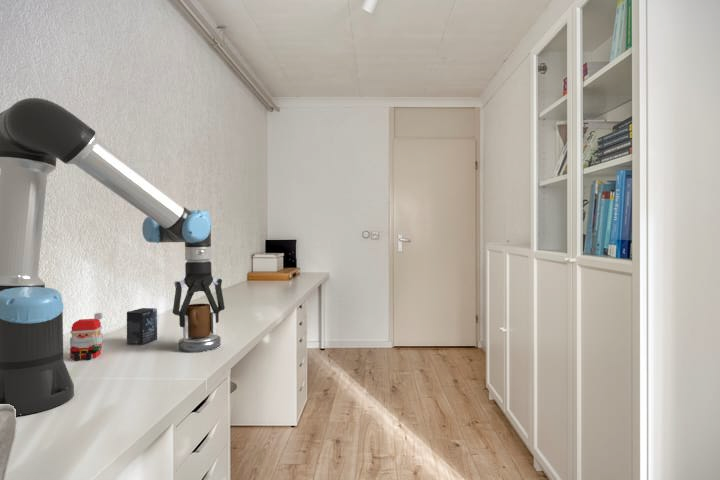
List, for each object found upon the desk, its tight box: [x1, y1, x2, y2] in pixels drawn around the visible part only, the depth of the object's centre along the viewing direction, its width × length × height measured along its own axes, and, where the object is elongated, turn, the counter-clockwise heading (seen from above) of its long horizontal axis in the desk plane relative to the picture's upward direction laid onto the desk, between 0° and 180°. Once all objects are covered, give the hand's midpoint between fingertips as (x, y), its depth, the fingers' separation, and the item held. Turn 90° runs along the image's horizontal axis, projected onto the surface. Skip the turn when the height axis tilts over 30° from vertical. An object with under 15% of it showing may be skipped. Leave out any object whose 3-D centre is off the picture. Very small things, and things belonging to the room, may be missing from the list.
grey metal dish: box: [178, 333, 221, 353], centre depth 135 cm, size 12×12×3 cm
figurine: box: [69, 312, 103, 362], centre depth 125 cm, size 8×7×12 cm
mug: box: [185, 303, 212, 338], centre depth 134 cm, size 12×8×9 cm, turn 10°
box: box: [126, 307, 158, 346], centre depth 143 cm, size 8×6×11 cm
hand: (199, 335), depth 135 cm, fingers closed on mug, 7 cm apart
